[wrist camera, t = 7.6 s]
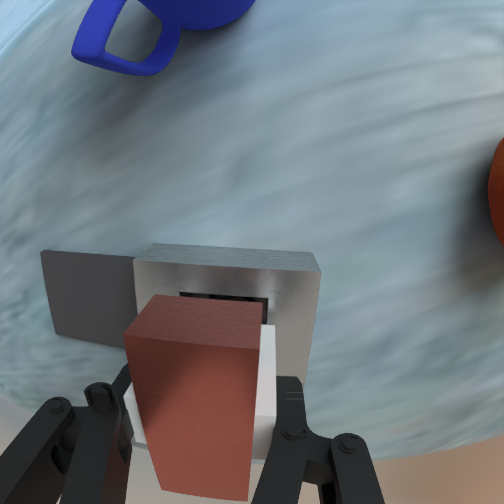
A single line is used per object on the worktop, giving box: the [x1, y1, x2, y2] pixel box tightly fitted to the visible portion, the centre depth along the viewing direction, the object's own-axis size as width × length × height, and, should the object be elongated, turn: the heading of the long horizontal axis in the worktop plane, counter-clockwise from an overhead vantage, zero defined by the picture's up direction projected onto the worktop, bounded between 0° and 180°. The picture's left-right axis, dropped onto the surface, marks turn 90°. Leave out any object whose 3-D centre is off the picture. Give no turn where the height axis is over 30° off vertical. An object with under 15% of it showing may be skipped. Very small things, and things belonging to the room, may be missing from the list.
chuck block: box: [133, 244, 321, 388], centre depth 19 cm, size 10×8×4 cm
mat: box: [40, 250, 138, 348], centre depth 21 cm, size 9×7×1 cm
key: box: [123, 294, 262, 501], centre depth 15 cm, size 4×9×10 cm, turn 177°
